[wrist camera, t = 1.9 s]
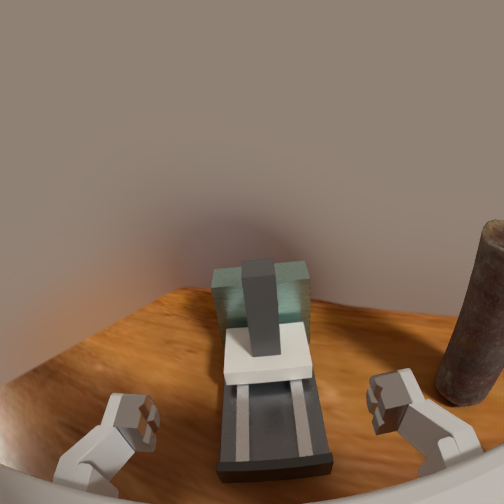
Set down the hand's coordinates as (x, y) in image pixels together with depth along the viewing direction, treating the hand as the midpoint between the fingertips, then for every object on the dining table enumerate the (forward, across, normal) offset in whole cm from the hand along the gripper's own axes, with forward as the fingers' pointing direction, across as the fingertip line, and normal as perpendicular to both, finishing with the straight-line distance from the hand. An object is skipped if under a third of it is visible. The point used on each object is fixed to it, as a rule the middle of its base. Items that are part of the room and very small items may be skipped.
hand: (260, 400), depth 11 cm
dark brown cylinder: (+11, -22, +20) cm, 32 cm away
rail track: (+16, 0, +20) cm, 26 cm away
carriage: (+19, 0, +17) cm, 25 cm away
